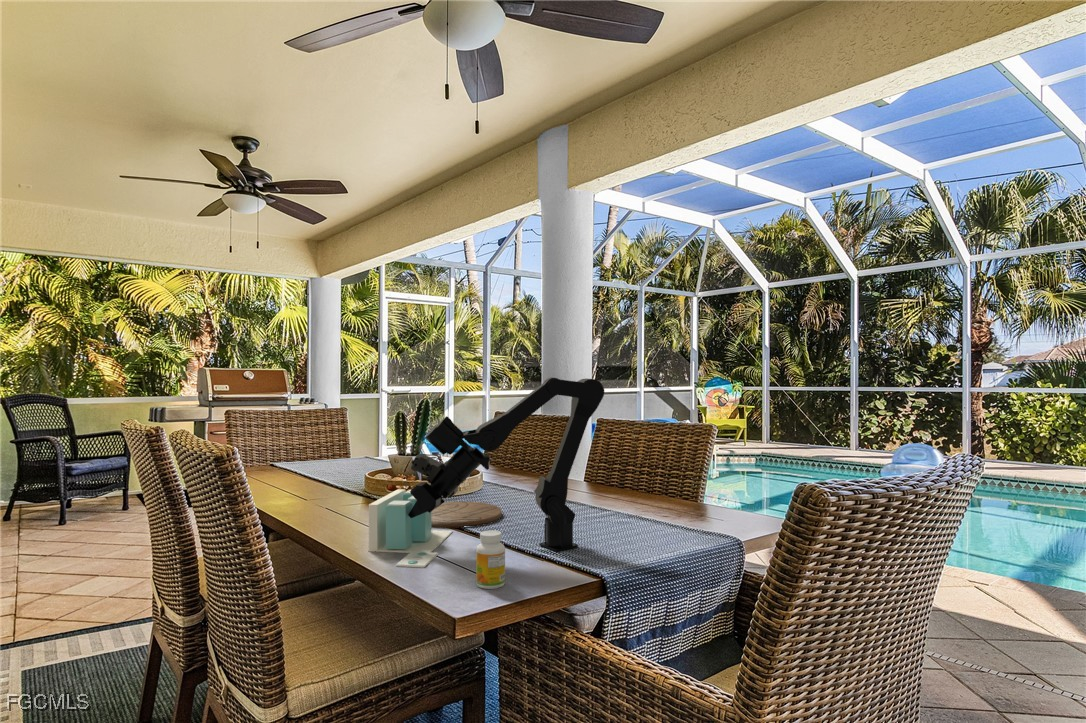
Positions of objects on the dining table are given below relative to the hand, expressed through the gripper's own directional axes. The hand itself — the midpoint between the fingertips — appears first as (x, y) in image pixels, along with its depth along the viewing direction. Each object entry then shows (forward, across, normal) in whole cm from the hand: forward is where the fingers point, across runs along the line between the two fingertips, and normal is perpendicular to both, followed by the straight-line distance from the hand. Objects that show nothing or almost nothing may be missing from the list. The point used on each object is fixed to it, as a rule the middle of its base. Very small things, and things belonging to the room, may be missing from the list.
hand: (410, 516), depth 143 cm
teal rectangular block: (+8, -13, +3) cm, 15 cm away
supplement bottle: (-11, +20, +22) cm, 32 cm away
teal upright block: (+5, -7, +5) cm, 10 cm away
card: (+2, +8, +8) cm, 11 cm away
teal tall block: (+7, 0, +4) cm, 8 cm away
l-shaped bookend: (+6, -7, +4) cm, 10 cm away
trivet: (+4, -32, +7) cm, 33 cm away
